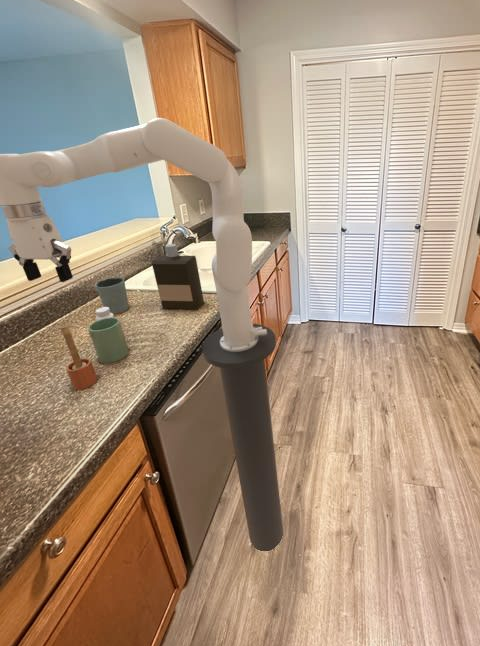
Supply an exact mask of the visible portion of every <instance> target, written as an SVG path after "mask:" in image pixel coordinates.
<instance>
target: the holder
mask: <svg viewBox="0 0 480 646" xmlns="http://www.w3.org/2000/svg"><path fill="white" fill-rule="evenodd" d="M80 359H81V361H82V362H85V363H86V364H87V365H85V366H84V367H82V368H79V369H76V370H73V369H72V367H73V366H74V365H75V364H74V361H73V360H72V361H71V362H69V363H68V364H67V366H66V367H65V370H66V372H67V375H68V378H69V380H70V382H71V385H72V387H73V388H74V390H84V389H87V388H89V387H92V386H93V385H94V384H96V383H97V381H98V376H97V373H96V371H95V367H94V365H93V362H92V359H91V358H89V357H83V358H81V357H80Z"/></svg>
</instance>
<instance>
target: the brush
mask: <svg viewBox="0 0 480 646" xmlns="http://www.w3.org/2000/svg"><path fill="white" fill-rule="evenodd" d="M59 328H60V331H61V334H62V336H63V338H64V341H65V343H66V346H67V349H68V351H69V354H70V356H71V359H72V362H73V361H74V364H75V365H74V366H73V367H72V369H73V370H76V369H79V368H82V367H84V366H85V365H87V364H86V363H85V362H82V361H81V356H80V354H79V351H78V349H77V346H76V342H75V341H74V338H73V335H72V332H71V330H70V327H69V325H68V324H64V325H62V326H60V327H59Z"/></svg>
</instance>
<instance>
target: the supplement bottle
mask: <svg viewBox="0 0 480 646" xmlns="http://www.w3.org/2000/svg"><path fill="white" fill-rule="evenodd" d="M95 314H96V317H95V321H98V320H100V319H104V318H110V317H115V314H113V313H110V309H109V307H104V306H102V307H98V308H97V309H96V310H95Z"/></svg>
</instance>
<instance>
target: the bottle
mask: <svg viewBox="0 0 480 646" xmlns="http://www.w3.org/2000/svg"><path fill="white" fill-rule="evenodd" d="M164 247H165V252H166V255H158V256H157V257H155V258H153V259H151V260H150V262H151V266H152V270H153V274H154V278H155V282H156V287H157V291H158V295H159V299H160V303H161V307H162V309H168V310H169V309H170V310H171V309H172V310H199V308H200V307H201V306H203V304H204V302H205V300H204V295H203V289H202V282H201V278H200V272H199V266H198V261H197V257H196V255H181V254H179V250H178V245H177V244H176V243H170V244H166V245H165V246H164Z"/></svg>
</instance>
